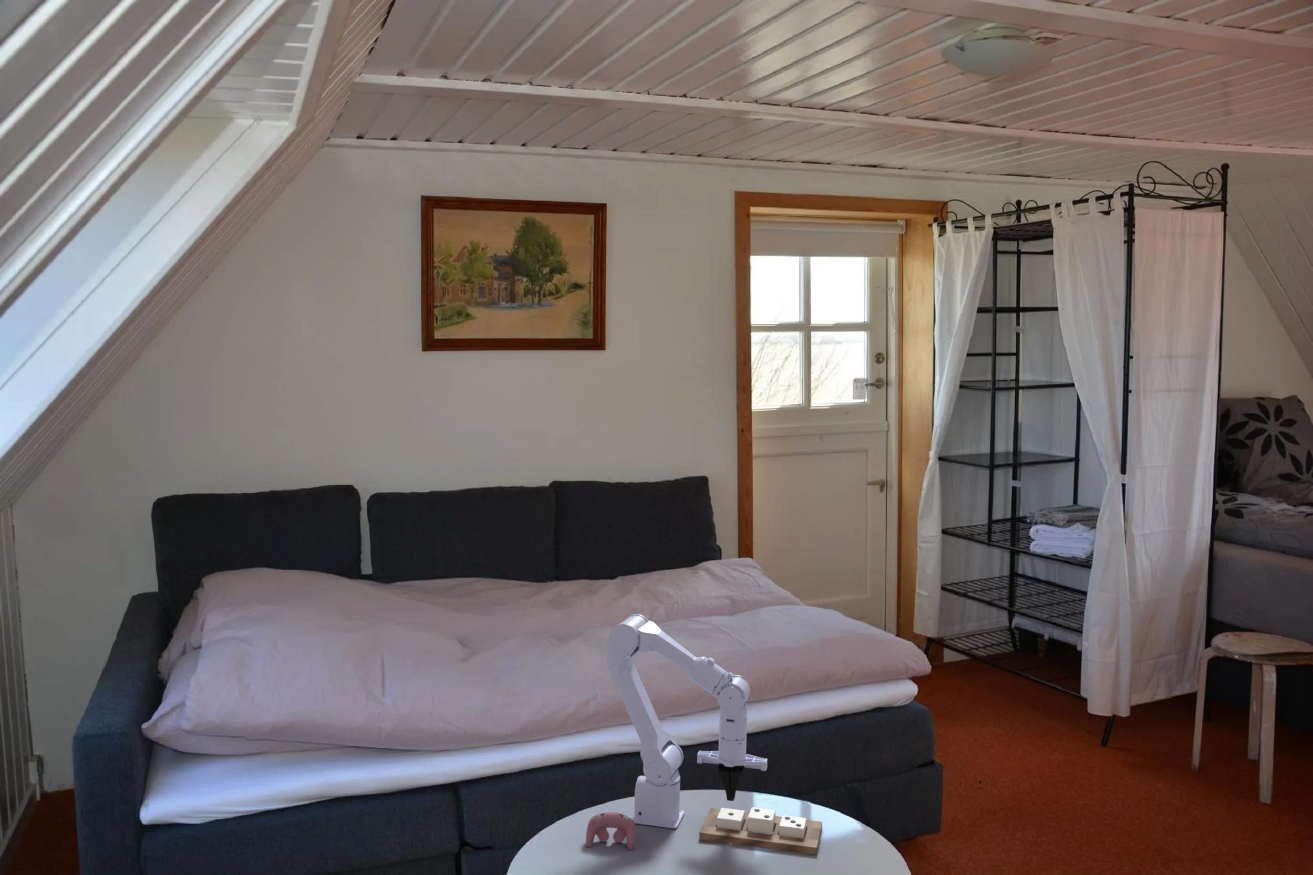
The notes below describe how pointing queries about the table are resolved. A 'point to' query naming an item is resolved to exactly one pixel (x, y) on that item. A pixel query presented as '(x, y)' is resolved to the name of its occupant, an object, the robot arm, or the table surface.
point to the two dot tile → (761, 820)
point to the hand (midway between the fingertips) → (730, 798)
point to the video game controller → (611, 821)
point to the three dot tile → (792, 827)
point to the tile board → (762, 835)
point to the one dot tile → (731, 819)
